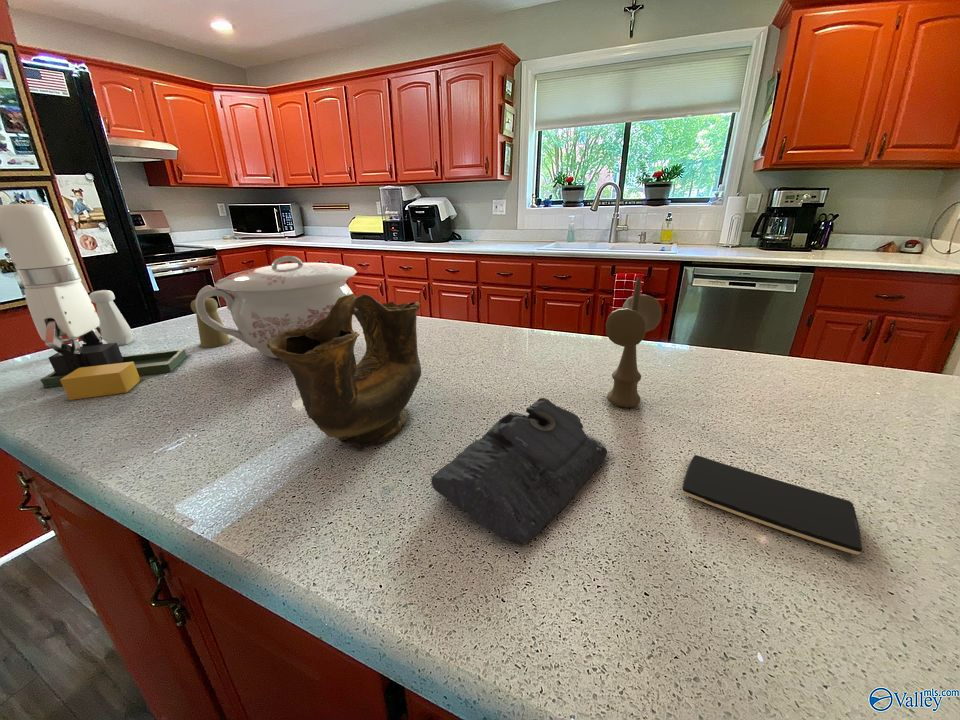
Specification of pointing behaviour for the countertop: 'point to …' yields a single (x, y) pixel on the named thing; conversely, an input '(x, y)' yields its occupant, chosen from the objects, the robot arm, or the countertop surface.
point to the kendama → (630, 343)
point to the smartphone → (775, 503)
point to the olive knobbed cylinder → (207, 333)
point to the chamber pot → (276, 299)
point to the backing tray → (137, 364)
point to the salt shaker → (111, 319)
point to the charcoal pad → (90, 357)
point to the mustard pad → (100, 380)
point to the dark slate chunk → (521, 471)
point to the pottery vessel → (355, 368)
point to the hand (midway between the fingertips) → (90, 366)
